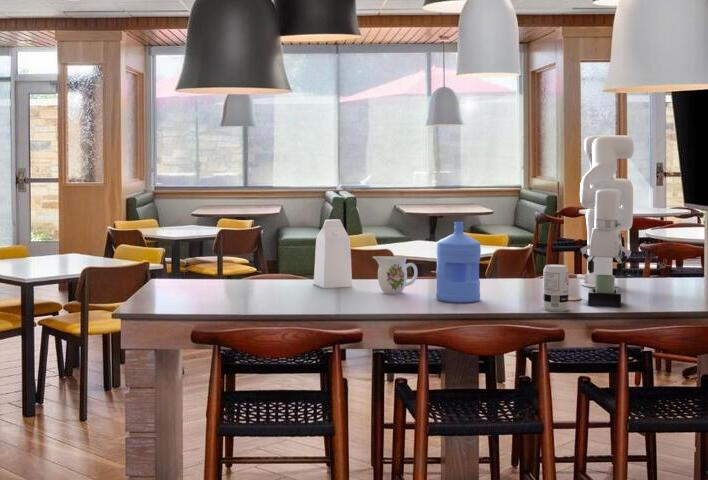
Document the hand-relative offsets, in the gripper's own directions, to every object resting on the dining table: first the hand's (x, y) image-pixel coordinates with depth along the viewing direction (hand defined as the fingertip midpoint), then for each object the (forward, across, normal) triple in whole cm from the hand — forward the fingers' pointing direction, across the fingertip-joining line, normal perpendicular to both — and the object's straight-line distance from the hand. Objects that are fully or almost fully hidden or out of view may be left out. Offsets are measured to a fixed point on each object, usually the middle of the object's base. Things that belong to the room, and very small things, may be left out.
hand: (605, 273), depth 339 cm
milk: (+11, +102, +16) cm, 104 cm away
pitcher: (+11, +73, +18) cm, 76 cm away
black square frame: (+11, 0, 0) cm, 11 cm away
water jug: (+11, +46, +20) cm, 52 cm away
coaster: (+11, +15, -4) cm, 19 cm away
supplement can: (+11, +10, +20) cm, 25 cm away
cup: (+11, 0, 0) cm, 11 cm away
